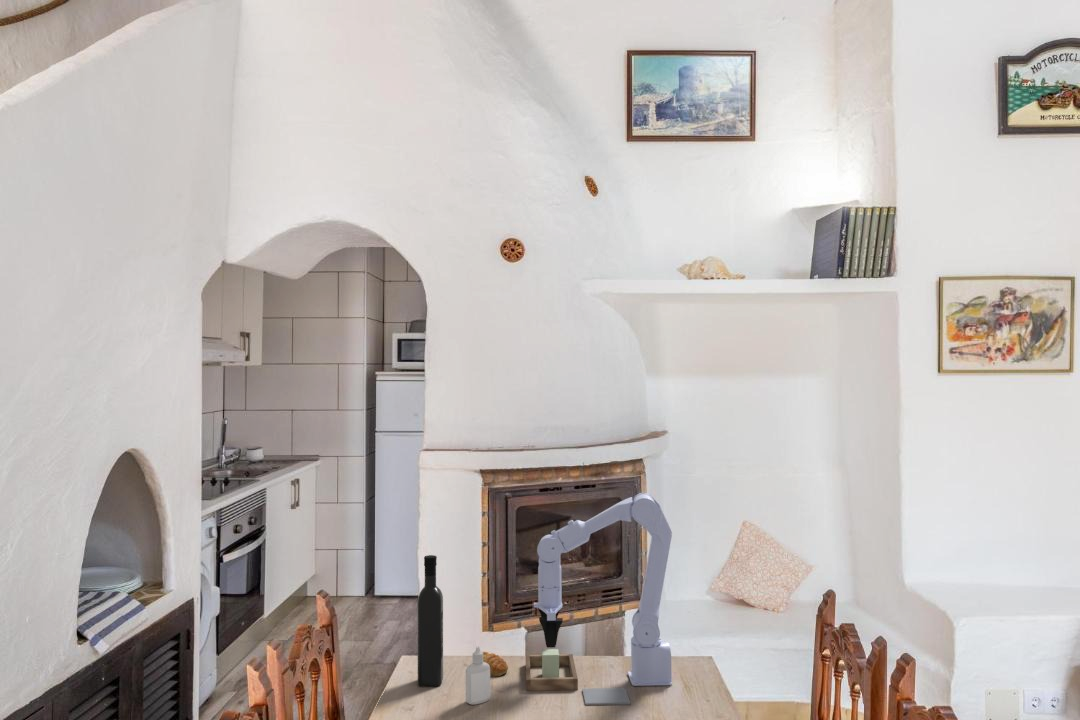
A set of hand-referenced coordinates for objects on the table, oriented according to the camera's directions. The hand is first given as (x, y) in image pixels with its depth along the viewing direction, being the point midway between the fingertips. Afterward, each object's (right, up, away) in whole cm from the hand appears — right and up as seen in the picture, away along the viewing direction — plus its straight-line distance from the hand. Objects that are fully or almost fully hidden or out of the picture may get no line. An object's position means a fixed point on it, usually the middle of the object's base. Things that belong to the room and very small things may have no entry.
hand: (550, 641), depth 179 cm
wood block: (0, -9, 0) cm, 9 cm away
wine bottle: (-29, -9, -3) cm, 30 cm away
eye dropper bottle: (-17, -8, -14) cm, 23 cm away
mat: (+12, -8, -12) cm, 19 cm away
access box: (0, -9, 0) cm, 9 cm away
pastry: (-15, -9, +5) cm, 18 cm away
